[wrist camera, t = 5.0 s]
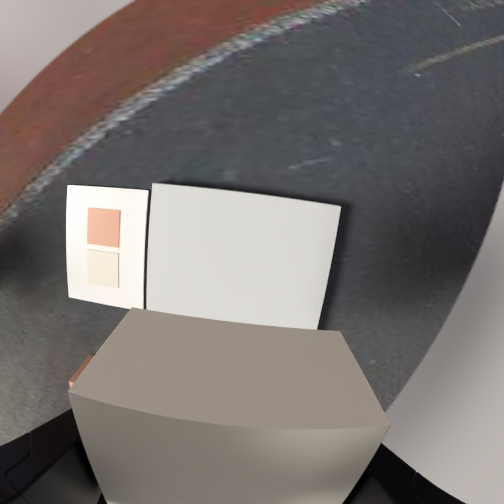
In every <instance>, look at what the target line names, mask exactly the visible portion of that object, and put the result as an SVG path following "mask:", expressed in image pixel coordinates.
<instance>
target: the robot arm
mask: <svg viewBox="0 0 504 504" xmlns="http://www.w3.org/2000/svg"><path fill="white" fill-rule="evenodd" d="M0 504H107V502H106V500H105V498H104V495H103V493H102V491H101V489H100V486H99V484H98V482H97V479H96V477H95V474H94V472H93V469H92V467H91V464H90V462H89V459H88V456H87V453H86V451H85V448H84V445H83V442H82V439H81V436H80V433H79V430H78V427H77V423H76V420H75V417H74V413H73V410H72V408H71V409H69V410H68V411H66V412H64V413H62V414H61V415H59V416H57V417H55V418H54V419H52V420H50V421H48V422H46V423H45V424H43V425H41V426H39V427H37V428H35V429H34V430H32V431H30V433H29V432H28V433H26V434H24V435H22V436H21V437H19V438H17V439H15V440H12V441H10V442H8V443H6V444H4V445H1V446H0ZM342 504H466V503H464V502H462V501H460V500H459V499H457V498H455V497H453V496H452V495H450V494H448V493H446V492H445V491H443V490H442V489H440V488H439V487H437V486H436V485H434V484H433V483H431V482H430V481H429V480H427V479H426V478H425V477H423V476H422V475H421V474H419V473H418V472H416V471H415V470H414V469H413V468H412V467H410V466H409V465H408V464H407V463H405V462H404V461H403V460H402V459H400V458H399V457H398V456H397V455H395V454H394V453H393V452H392V451H391V450H389V449H388V448H387V447H386V446H384V445H383V444H382V443H381V444H380V446H379V447H378V449H377V451H376V453H375V454H374V456H373V458H372V459H371V461H370V463H369V464H368V466H367V467H366V469H365V471H364V472H363V474H362V475H361V477H360V478H359V480H358V481H357V483H356V485H355V486H354V487H353V489H352V490H351V492H350V493H349V495H348V496H347V498H346V499H345V500H344V502H343V503H342Z"/></svg>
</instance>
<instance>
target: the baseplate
mask: <svg viewBox="0 0 504 504" xmlns="http://www.w3.org/2000/svg"><path fill="white" fill-rule="evenodd" d="M340 210H341V206H338V205H334V204H327V203H321V202H315V201H308V200H301V199H295V198H288V197H280V196H273V195H266V194H258V193H250V192H242V191H234V190H225V189H216V188H207V187H197V186H187V185H176V184H165V183H153V185H152V195H151V207H150V221H149V237H148V259H147V310H152V311H158V312H165V313H171V314H178V315H185V316H192V317H199V318H206V319H214V320H222V321H230V322H239V323H248V324H257V325H267V326H277V327H288V328H300V329H313V330H317V327H318V323H319V318H320V314H321V309H322V305H323V300H324V296H325V291H326V286H327V281H328V276H329V271H330V266H331V261H332V256H333V250H334V245H335V239H336V234H337V228H338V222H339V216H340Z"/></svg>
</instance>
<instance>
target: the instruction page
mask: <svg viewBox="0 0 504 504" xmlns="http://www.w3.org/2000/svg"><path fill="white" fill-rule="evenodd" d="M148 195H149V190H139V189H126V188H112V187H97V186H80V185H68V188H67V211H66V254H67V277H68V292H69V297H71V298H76V299H81V300H86V301H91V302H96V303H101V304H106V305H111V306H116V307H122V308H128V309H131V308H132V307H134V308H140V309H144V262H145V239H146V222H147V208H148Z"/></svg>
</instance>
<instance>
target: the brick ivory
mask: <svg viewBox="0 0 504 504" xmlns="http://www.w3.org/2000/svg"><path fill="white" fill-rule="evenodd" d="M68 395H69V399H70V403H71V406H72V410H73V413H74V417H75V420H76V423H77V427H78V430H79V433H80V436H81V439H82V442H83V445H84V448H85V451H86V453H87V456H88V459H89V462H90V464H91V467H92V469H93V472H94V474H95V477H96V479H97V482H98V484H99V486H100V489H101V491H102V493H103V495H104V498H105V500H106V502H107V504H342V503H343V502H344V500H345V499H346V498H347V496H348V495H349V493H350V492H351V490H352V489H353V487H354V486H355V485H356V483H357V481H358V480H359V478H360V477H361V475H362V474H363V472H364V471H365V469H366V467H367V466H368V464H369V463H370V461H371V459H372V458H373V456H374V454H375V453H376V451H377V449H378V447H379V446H380V444H381V442H382V440H383V438H384V437H385V435H386V433H387V431H388V429H389V427H390V423H389V421H388V419H387V417H386V415H385V413H384V411H383V409H382V407H381V406H380V404H379V402H378V400H377V398H376V396H375V394H374V392H373V391H372V389H371V387H370V385H369V383H368V381H367V379H366V378H365V376H364V374H363V372H362V370H361V368H360V367H359V365H358V363H357V361H356V359H355V358H354V356H353V354H352V352H351V350H350V349H349V347H348V345H347V343H346V341H345V340H344V338H343V336H342V334H341V332H340V331H328V330H313V329H300V328H288V327H277V326H267V325H257V324H248V323H239V322H230V321H222V320H214V319H206V318H199V317H192V316H185V315H178V314H171V313H165V312H158V311H152V310H146V309H140V308H134V307H132V308H131V309H130V311H129V312H128V313H127V314H126V316H125V317H124V318H123V319H122V321H121V322H120V323H119V324H118V326H117V327H116V328H115V330H114V331H113V332H112V333H111V335H110V336H109V337H108V338H107V340H106V341H105V342H104V344H103V345H102V346H101V348H100V349H99V350H98V351H97V353H96V354H95V355H94V357H93V358H92V359H91V361H90V362H89V363H88V365H87V366H86V367H85V369H84V370H83V371H82V373H81V374H80V375H79V377H78V378H77V379H76V381H75V382H74V384H73V385H72V386H71V388H70V389H69V390H68Z"/></svg>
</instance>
